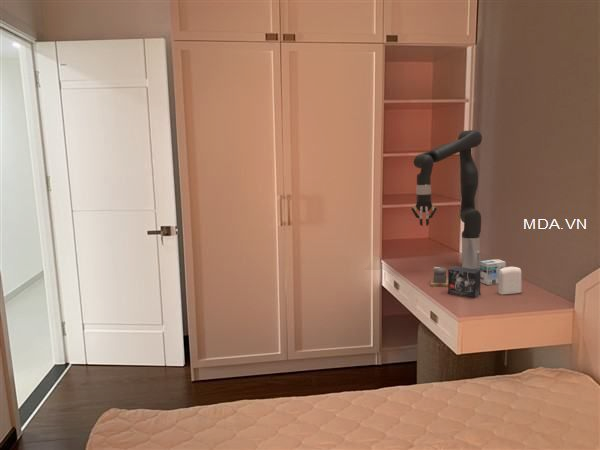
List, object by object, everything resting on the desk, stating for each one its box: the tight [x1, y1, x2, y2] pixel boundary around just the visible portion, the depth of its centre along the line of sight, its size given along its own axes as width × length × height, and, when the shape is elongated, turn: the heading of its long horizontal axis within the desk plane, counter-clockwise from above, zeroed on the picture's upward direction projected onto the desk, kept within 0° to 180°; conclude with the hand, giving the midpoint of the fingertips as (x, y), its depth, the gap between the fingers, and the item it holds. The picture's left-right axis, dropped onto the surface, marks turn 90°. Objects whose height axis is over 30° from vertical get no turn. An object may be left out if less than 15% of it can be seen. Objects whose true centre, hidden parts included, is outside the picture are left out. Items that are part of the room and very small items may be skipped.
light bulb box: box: [479, 258, 507, 286], centre depth 238 cm, size 11×7×11 cm, turn 105°
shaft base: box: [429, 277, 448, 288], centre depth 241 cm, size 11×11×5 cm
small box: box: [447, 265, 481, 299], centre depth 222 cm, size 13×7×12 cm, turn 47°
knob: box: [433, 266, 447, 283], centre depth 240 cm, size 6×6×7 cm
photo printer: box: [497, 266, 522, 295], centre depth 220 cm, size 10×4×12 cm, turn 96°
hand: (424, 225), depth 253 cm, fingers closed
